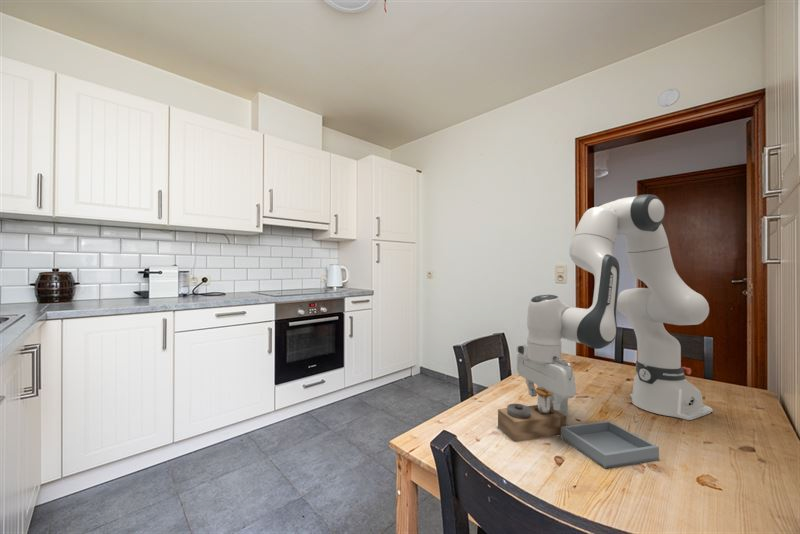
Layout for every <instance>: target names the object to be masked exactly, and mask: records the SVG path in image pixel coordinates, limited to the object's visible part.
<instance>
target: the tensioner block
mask: <svg viewBox="0 0 800 534" xmlns="http://www.w3.org/2000/svg"><path fill="white" fill-rule="evenodd" d="M562 426H567V416H566V415H564V414H562V413H561V412H559V411H557V410H554V409H552V408H551V407H550V414H547V415H542V414H540V413H539V412H538V404H535V405H526V404H525V405H524V404H521V403H510V404H508V405H507V407H506V408H498V409H497V427H498V428H499V429H500V430H501V431H502V432H503V433H504V434H505V435H506V436H507V437H509V438H510V439H511V440H512V441H513V442H515V443H516V442H521V441H530V440H537V439H543V438H550V437H551V438H552V437H559V436H560V437H561V427H562Z"/></svg>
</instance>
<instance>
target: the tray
mask: <svg viewBox="0 0 800 534" xmlns="http://www.w3.org/2000/svg"><path fill="white" fill-rule="evenodd" d="M560 438H561V439H562V440H563V441H565V442H566V443H567V444H569V445H570V446H571V447H573V448H575V449H576V450H577V451H579V452H580V453H582V454H583V455H585V456H586V457H587V458H589V459H590V460H591V461H593V462H595V464H597V465H599V466H601V467H602V468H603V469H604V470H605V469H606V470H607V469H613V468H619V467H625V466H629V465H635V464H642V463H649V462H652V461H653V462H654V461H659V460H660V446H659V445H656V444H654V443H652V442H651V441H648V440H647V439H645V438H643V437H641V436H639V435H637V434H635V433H633V432H631V431H629V430H627V429H625V428H623V427H621V426H620V425H618V424H616V423H614V422H612V421H610V420H603V421H595V422H594V421H593V422H588V423H579V424H570V425H566V426H562V427H561V435H560Z"/></svg>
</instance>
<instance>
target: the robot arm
mask: <svg viewBox="0 0 800 534" xmlns="http://www.w3.org/2000/svg"><path fill="white" fill-rule="evenodd" d="M665 216H666V207H665V204H664V202H663V200H661V198H660V197H658V196H657V195H654V194H639V195H636V196H628V197H623V198H618V199H616V200H613V201H610V202H606V203H604V204H598V205H596V206H594V207H591V208H588V209H586V211H585V212H584V213H583V215H582V217H581V218H580V220H579V222H578V224H577V226H576V228H575V231H574V233H573V236H572V240H571V242H570V246H569V257H570V259H571V260H572V262H573V263H574V264H575V266H577V267H578V268H580V269H582V270H584V271H586V272H589V273H590V274H592V275H593V276H594V280H595V281H594V289H593V297H592V304H591V306H590V307H589V308H581V307H576V306H575V307H574V306H571V305H569V304H566V303H564V302H563V301H562V300H561V299H560V297H559V296H557V295H556V294H555V295H554V294H539V295H536V296H532V298H531V299H530V300H529V304H528V308H527V322H526V325H527V329H528V336H527V339H526V340H527V341H526V344H520V345H517V346H516V352H517V355H516V371H517V374H518V375H519V376H520V377H521V378H524V379H525V383H526V386H527V389H528V395H529V396H531V397H538V394H537V393H536V387H535V385H537V386H538V385H539V386H540V387H542V388H544V389H546V390H548V391H550V392H552V393H553V397H555V399H554V401H553V402H551V408H552V409H554V410H560V403H561V402H562V400H563V399H566V398H568V399H572V398H574V397H576V395H577V387H576V378H575V372H574V369H573V367H572V366H571V364H570V363H569V361H567V360H565V359H562V340H561V339H564V340H567V341H570V342H573V343H574V342H575V343H578V344H582V345H584V346H587V347H589V348H592V349H595V350H599V349H603V348H605V347H607V346H608V345H610V344H612V342H614V340H615V339H616V337H617V333H618V325H617V324H618V323H617V309H618V311H619V312H620V314H622V315H623V316H624V317H625V318H626V319H627V320H628V322H629V324H630V325H631V327H632V329H633V331H634V333H635V334H634V335H635V338H636V344H637V345H636V347H637V348H636V349H637V360H636V362H635V372H636V374H635V375H634V380H633V387H632V392H631V393H630V394H629V396H630V398H631V403H632V404H633V405H634V406H636V407H637V408H640V409H641V410H645V411H647V412H650V413H653V414H657V415H662V416H666V417H667V416H668V417H673V418H678V419H682V420H687V421H693V420H695V419H698V418H700V417H703V416H706V415H709V414H712V413H713V412H714V411H713V408H712V407H711V406H709V405H706V404H704V403H703V394H702V392H701V391H700V389H698V388H697V387H696V386H695V385H694V384H692V383H691V382H689V380H687V379H686V375H691V373H692V369H691V367H685V366H682V362H681V360H682V355H681V354H682V353H681V351H682V349H681V348H682V346H681V344H680V341H679V340H678V339H677V338H676V337H675V336H673V335H671V334H670V333H669V332H668V331H667V330H666V328H665V325H664V324H668V325H675V326H691V325H692V326H694V325H695V326H696V325H701V324H702V323H704V321H706V319H707V318H708V316H709V314H710V306H709V302H708V301H707V299H706V298H705V296H703V295H702V294H700V293H698V292H696V290H694V289H692V288H691V287H690V286H688V285H687V284H686V282H684V280H683V279H682V278H681V276H680V275H679V273H678V272H677V270H676V268H675V266H674V265H675V264H674V262H673V258H672V254H671V249H670V244H669V240H668V236H667V233H666V230H665V228H664V225H663V224H662V223H663V222H664V219H665ZM620 235H624V244H625V251H626V255H627V260H628V265H629V269H630V273H631V274H632V276H633V277H634V278H636V279H638V280H640V281H641V282H642V283H643V284H644V285H646V286H647V288H646V287H637V288H636V287H634V288H628V289H623V290H622V291H621V292H620V293H619V285H620V284H619V283H620V275H621V273H620V263H619V260H618V259H617V258H616V257H615V256H614V245H615V243H616V239H617V236H620ZM685 374H686V375H685ZM711 412H712V413H711Z"/></svg>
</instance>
